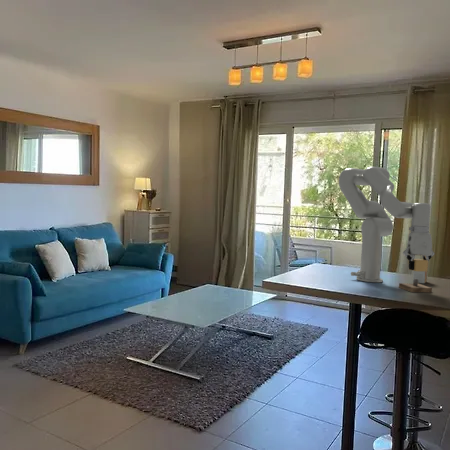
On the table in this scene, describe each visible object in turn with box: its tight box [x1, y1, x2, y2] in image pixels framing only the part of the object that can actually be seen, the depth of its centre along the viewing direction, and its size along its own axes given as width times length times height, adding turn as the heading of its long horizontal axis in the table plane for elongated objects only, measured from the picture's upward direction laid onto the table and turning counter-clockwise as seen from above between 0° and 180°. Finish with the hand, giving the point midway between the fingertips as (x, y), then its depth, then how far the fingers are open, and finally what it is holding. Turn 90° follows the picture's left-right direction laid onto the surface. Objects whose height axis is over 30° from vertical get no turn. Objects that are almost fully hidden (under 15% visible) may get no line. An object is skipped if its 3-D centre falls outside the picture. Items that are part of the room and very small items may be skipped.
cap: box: [408, 258, 429, 273], centre depth 206 cm, size 6×6×5 cm
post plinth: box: [398, 279, 433, 293], centre depth 207 cm, size 10×10×5 cm
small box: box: [412, 266, 429, 284], centre depth 231 cm, size 8×6×10 cm
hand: (417, 269), depth 207 cm, fingers closed on cap, 5 cm apart
